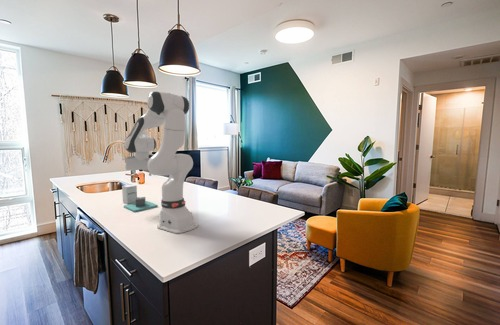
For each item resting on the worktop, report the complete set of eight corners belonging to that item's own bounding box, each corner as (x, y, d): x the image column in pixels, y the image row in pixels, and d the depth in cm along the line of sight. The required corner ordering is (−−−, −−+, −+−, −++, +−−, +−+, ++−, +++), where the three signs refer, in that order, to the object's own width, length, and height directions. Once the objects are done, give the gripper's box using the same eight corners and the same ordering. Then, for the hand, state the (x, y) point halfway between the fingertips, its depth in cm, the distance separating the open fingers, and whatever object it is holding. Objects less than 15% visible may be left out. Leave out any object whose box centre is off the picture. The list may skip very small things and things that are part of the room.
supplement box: (127, 204, 166) (126, 187, 165) (122, 202, 171) (121, 185, 170) (137, 202, 172) (136, 185, 171) (132, 200, 177) (131, 184, 175)
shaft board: (157, 206, 162) (157, 200, 161) (134, 212, 150) (133, 205, 149) (146, 202, 172) (146, 196, 171) (123, 207, 160) (123, 201, 159)
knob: (144, 206, 159) (144, 198, 158) (135, 206, 157) (135, 199, 156) (145, 203, 164) (145, 196, 164) (136, 204, 162) (136, 197, 162)
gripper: (123, 156, 151) (125, 177, 153) (157, 155, 158) (158, 175, 160) (125, 155, 157) (126, 176, 159) (157, 155, 164) (158, 174, 166)
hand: (142, 176), depth 159 cm, fingers open, 8 cm apart
